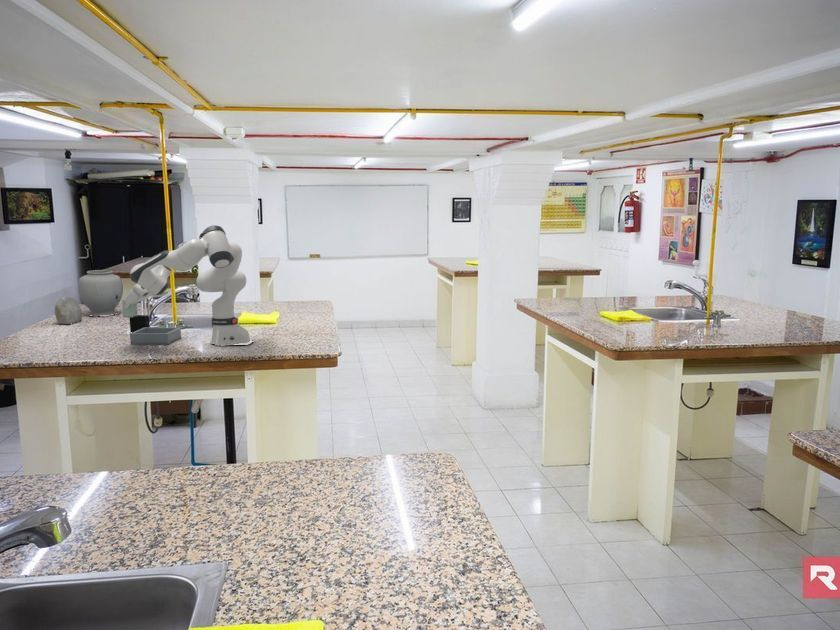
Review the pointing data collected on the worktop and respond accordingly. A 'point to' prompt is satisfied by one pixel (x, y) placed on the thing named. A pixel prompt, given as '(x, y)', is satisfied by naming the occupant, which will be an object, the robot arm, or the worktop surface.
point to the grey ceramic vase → (100, 291)
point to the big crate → (155, 336)
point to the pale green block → (129, 310)
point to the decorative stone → (67, 311)
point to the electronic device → (139, 322)
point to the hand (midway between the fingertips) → (128, 306)
